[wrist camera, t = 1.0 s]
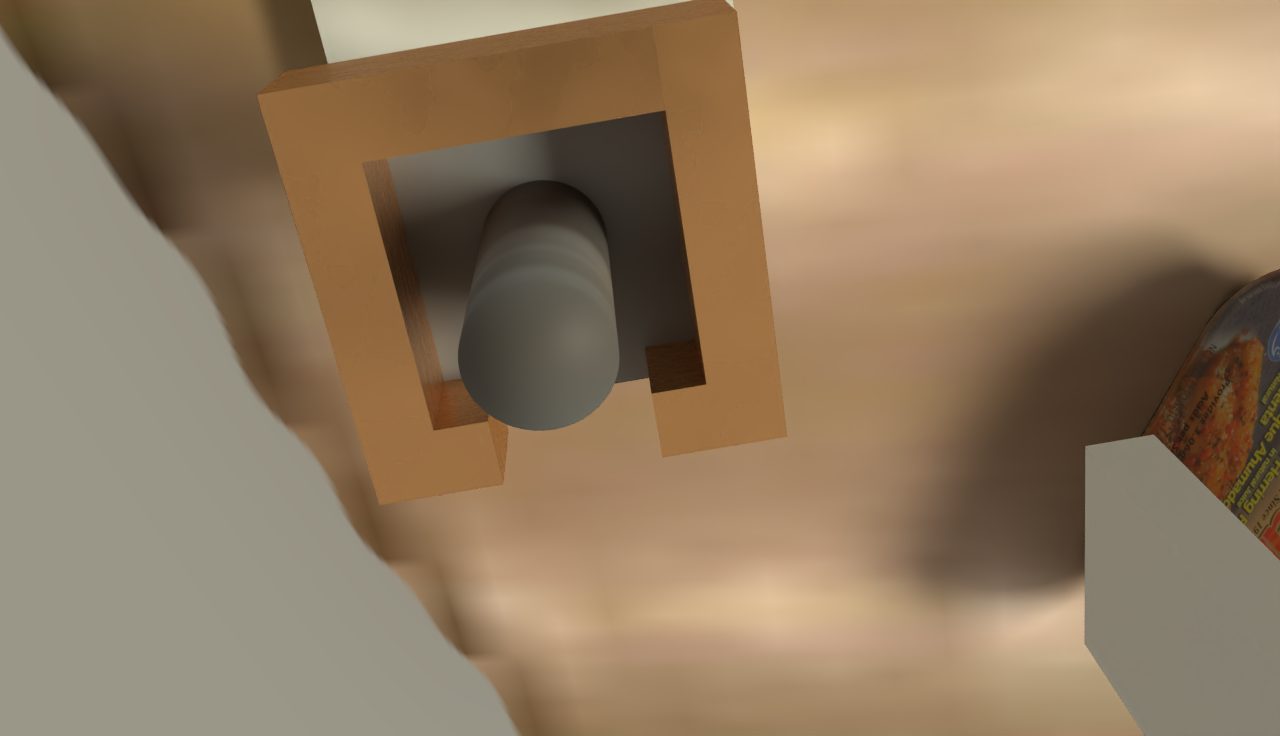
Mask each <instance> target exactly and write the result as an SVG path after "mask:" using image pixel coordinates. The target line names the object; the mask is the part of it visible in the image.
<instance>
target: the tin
mask: <svg viewBox="0 0 1280 736" xmlns="http://www.w3.org/2000/svg"><path fill="white" fill-rule="evenodd" d="M1148 435H1155V436H1156V437H1157V438H1158V439H1159V440H1160V441H1161V442H1162V443H1163V444H1164V445H1165V446H1166V447H1167V448H1168V449H1169V450H1170V451H1171V452H1172V453H1173V454H1174V455H1175V456H1176V457H1177V458H1178V459H1179V460H1180V461H1181V462H1182V463H1183V464H1184V465H1185V466H1186V467H1187V468H1188V469H1189V470H1190V471H1191V472H1192V473H1193V474H1194V475H1195V476H1196V477H1197V478H1198V479H1199V480H1200V481H1201V482H1202V483H1203V484H1204V485H1205V486H1206V487H1207V488H1208V489H1209V490H1210V491H1211V492H1212V493H1213V494H1214V495H1215V496H1216V497H1217V498H1218V499H1219V500H1220V501H1221V502H1222V503H1223V504H1224V505H1225V506H1226V507H1227V508H1228V509H1229V510H1230V511H1231V512H1232V513H1233V514H1234V515H1235V516H1236V517H1237V518H1238V519H1239V520H1240V521H1241V522H1242V523H1243V524H1244V525H1245V526H1246V527H1247V528H1248V529H1249V530H1250V531H1251V532H1252V533H1253V534H1254V535H1255V536H1256V537H1257V538H1258V539H1259V540H1260V541H1261V542H1262V543H1263V544H1264V545H1265V546H1266V547H1267V548H1268V549H1269V550H1270V551H1271V552H1272V553H1273V554H1274V555H1275V556H1276V557H1277V558H1278V559H1279V560H1280V269H1279V270H1276V271H1273V272H1270V273H1268V274H1266V275H1264V276H1262V277H1260V278H1258V279H1256V280H1254V281H1252V282H1251V283H1249V284H1248V285H1246V286H1245V287H1243V288H1242V289H1241V290H1239V291H1238V292H1237V293H1236V294H1235V295H1234V296H1232V297H1231V298H1230V299H1229V300H1228V301H1226V302H1225V303H1224V305H1223V306H1222V307H1221V308H1220V309H1219V310H1218V311H1217V312H1216V313H1215V315H1214V316H1213V317H1212V318H1211V320H1210V321H1209V322H1208V324H1207V325H1206V327H1205V328H1204V330H1203V331H1202V333H1201V335H1200V336H1199V338H1198V339H1197V341H1196V343H1195V345H1194V347H1193V348H1192V350H1191V352H1190V354H1189V355H1188V357H1187V359H1186V361H1185V362H1184V364H1183V366H1182V368H1181V369H1180V371H1179V373H1178V375H1177V376H1176V378H1175V380H1174V382H1173V383H1172V385H1171V387H1170V388H1169V390H1168V392H1167V394H1166V395H1165V397H1164V399H1163V401H1162V402H1161V404H1160V406H1159V408H1158V409H1157V411H1156V413H1155V415H1154V417H1153V418H1152V420H1151V422H1150V423H1149V425H1148V427H1147V428H1146V430H1145V432H1144V434H1143V436H1148Z"/></svg>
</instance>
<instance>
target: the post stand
mask: <svg viewBox="0 0 1280 736" xmlns="http://www.w3.org/2000/svg"><path fill="white" fill-rule="evenodd" d="M686 1H692V0H311V3H312V7H313V10H314V14H315V18H316V21H317V25H318V29H319V33H320V36H321V40H322V44H323V47H324V51H325V55H326V58H327V62H328V64H329V63H335V62H341V61H346V60H352V59H358V58H364V57H369V56H375V55H381V54H387V53H393V52H398V51H404V50H410V49H416V48H421V47H427V46H433V45H439V44H444V43H450V42H456V41H462V40H467V39H473V38H479V37H485V36H490V35H496V34H502V33H508V32H513V31H519V30H525V29H531V28H536V27H542V26H548V25H554V24H559V23H565V22H571V21H577V20H582V19H588V18H594V17H600V16H605V15H611V14H617V13H623V12H628V11H634V10H640V9H646V8H651V7H657V6H663V5H669V4H674V3H680V2H686ZM726 1H727V2H728V3H729V4H730V5H731V6H732V7H733V0H726ZM733 8H734V7H733ZM387 160H388V164H389V168H390V172H391V176H392V179H393V183H394V187H395V191H396V195H397V199H398V203H399V207H400V210H401V214H402V218H403V222H404V226H405V230H406V234H407V238H408V241H409V245H410V249H411V253H412V257H413V261H414V265H415V269H416V273H417V276H418V280H419V284H420V288H421V292H422V296H423V300H424V304H425V307H426V311H427V315H428V319H429V323H430V327H431V331H432V335H433V339H434V342H435V346H436V350H437V354H438V358H439V362H440V366H441V370H442V373H443V377H444V381H450V380H456V379H462V381H463V383H464V386H465V388H466V390H467V391H468V393H469V394H470V396H471V397H472V399H473V400H474V401H475V402H476V403H477V405H478V406H479V407H480V408H482V409H483V410H484V411H485V412H486V413H487V414H489V415H490V416H492V417H493V418H495V419H497V420H499V421H501V422H503V423H505V424H507V425H510V426H513V427H517V428H521V429H526V430H542V431H544V430H553V429H558V428H562V427H566V426H569V425H571V424H574V423H576V422H578V421H580V420H582V419H584V418H585V417H587V416H588V415H590V414H591V413H592V412H593V411H595V410H596V409H597V408H598V407H599V406H600V405H601V404H602V403H603V401H604V400H605V399H606V397H607V396H608V394H609V393H610V391H611V389H612V387H613V385H614V384H615V383H621V382H627V381H633V380H639V379H644V378H649V373H648V366H647V360H646V354H645V347H650V346H656V345H662V344H668V343H674V342H680V341H685V340H691V339H695V338H694V331H693V324H692V318H691V311H690V305H689V298H688V292H687V285H686V278H685V272H684V265H683V259H682V252H681V245H680V239H679V232H678V226H677V219H676V212H675V206H674V199H673V193H672V186H671V179H670V173H669V166H668V160H667V153H666V146H665V140H664V133H663V127H662V120H661V113H660V111H659V112H653V113H647V114H641V115H635V116H630V117H624V118H618V119H612V120H606V121H601V122H595V123H589V124H583V125H578V126H572V127H566V128H560V129H554V130H549V131H543V132H537V133H531V134H525V135H520V136H514V137H508V138H502V139H496V140H491V141H485V142H479V143H473V144H467V145H462V146H456V147H450V148H444V149H438V150H433V151H427V152H421V153H415V154H409V155H404V156H398V157H392V158H387Z"/></svg>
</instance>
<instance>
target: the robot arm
mask: <svg viewBox="0 0 1280 736" xmlns="http://www.w3.org/2000/svg"><path fill="white" fill-rule="evenodd" d="M1085 645H1086V646H1087V648H1088V649H1089V651H1090V652H1091V654H1092V656H1093V657H1094V659H1095V660H1096V662H1097V663H1098V665H1099V666H1100V668H1101V669H1102V671H1103V672H1104V674H1105V675H1106V677H1107V678H1108V680H1109V682H1110V683H1111V685H1112V686H1113V688H1114V689H1115V691H1116V692H1117V694H1118V695H1119V697H1120V698H1121V700H1122V701H1123V703H1124V705H1125V706H1126V708H1127V709H1128V711H1129V712H1130V714H1131V715H1132V717H1133V718H1134V720H1135V721H1136V723H1137V724H1138V726H1139V728H1140V729H1141V731H1142V732H1143V734H1144V735H1145V736H1280V560H1279V559H1278V558H1277V557H1276V556H1275V555H1274V554H1273V553H1272V552H1271V551H1270V550H1269V549H1268V548H1267V547H1266V546H1265V545H1264V544H1263V543H1262V542H1261V541H1260V540H1259V539H1258V538H1257V537H1256V536H1255V535H1254V534H1253V533H1252V532H1251V531H1250V530H1249V529H1248V528H1247V527H1246V526H1245V525H1244V524H1243V523H1242V522H1241V521H1240V520H1239V519H1238V518H1237V517H1236V516H1235V515H1234V514H1233V513H1232V512H1231V511H1230V510H1229V509H1228V508H1227V507H1226V506H1225V505H1224V504H1223V503H1222V502H1221V501H1220V500H1219V499H1218V498H1217V497H1216V496H1215V495H1214V494H1213V493H1212V492H1211V491H1210V490H1209V489H1208V488H1207V487H1206V486H1205V485H1204V484H1203V483H1202V482H1201V481H1200V480H1199V479H1198V478H1197V477H1196V476H1195V475H1194V474H1193V473H1192V472H1191V471H1190V470H1189V469H1188V468H1187V467H1186V466H1185V465H1184V464H1183V463H1182V462H1181V461H1180V460H1179V459H1178V458H1177V457H1176V456H1175V455H1174V454H1173V453H1172V452H1171V451H1170V450H1169V449H1168V448H1167V447H1166V446H1165V445H1164V444H1163V443H1162V442H1161V441H1160V440H1159V439H1158V438H1157V437H1156V436H1155V435H1148V436H1142V437H1136V438H1130V439H1125V440H1119V441H1113V442H1107V443H1101V444H1095V445H1089V446H1085Z"/></svg>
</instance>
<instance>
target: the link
mask: <svg viewBox="0 0 1280 736" xmlns="http://www.w3.org/2000/svg"><path fill="white" fill-rule="evenodd" d="M257 98H258V101H259V105H260V108H261V111H262V115H263V118H264V121H265V125H266V128H267V131H268V135H269V138H270V141H271V145H272V148H273V151H274V155H275V158H276V161H277V165H278V168H279V171H280V175H281V178H282V181H283V185H284V188H285V191H286V195H287V198H288V201H289V205H290V208H291V211H292V215H293V218H294V221H295V225H296V228H297V231H298V235H299V238H300V241H301V245H302V248H303V251H304V255H305V258H306V261H307V265H308V268H309V271H310V275H311V278H312V281H313V285H314V288H315V291H316V295H317V298H318V301H319V305H320V308H321V311H322V315H323V318H324V321H325V325H326V328H327V331H328V335H329V338H330V341H331V345H332V348H333V351H334V355H335V358H336V361H337V365H338V368H339V371H340V375H341V378H342V381H343V385H344V388H345V391H346V395H347V398H348V401H349V405H350V408H351V411H352V415H353V418H354V421H355V425H356V428H357V431H358V435H359V438H360V441H361V445H362V448H363V451H364V455H365V458H366V461H367V465H368V468H369V471H370V475H371V478H372V481H373V485H374V488H375V491H376V495H377V498H378V501H379V505H384V504H389V503H395V502H401V501H407V500H413V499H419V498H425V497H431V496H437V495H443V494H449V493H455V492H461V491H467V490H473V489H478V488H484V487H490V486H496V485H502V484H503V482H504V472H505V461H506V451H507V441H508V428H507V424H505V423H503V422H501V421H499V420H497V419H495V418H493V417H492V416H490V415H489V414H487V413H486V412H485V411H484V410H483V409H482V408H480V407H479V406H478V405H477V403H476V402H475V401H474V400H473V399H472V397H471V396H470V394H469V393H468V391H467V390H466V388H465V386H464V383H463V381H462V379H456V380H450V381H444V377H443V373H442V370H441V366H440V362H439V358H438V354H437V350H436V346H435V342H434V339H433V335H432V331H431V327H430V323H429V319H428V315H427V311H426V307H425V304H424V300H423V296H422V292H421V288H420V284H419V280H418V276H417V273H416V269H415V265H414V261H413V257H412V253H411V249H410V245H409V241H408V238H407V234H406V230H405V226H404V222H403V218H402V214H401V210H400V207H399V203H398V199H397V195H396V191H395V187H394V183H393V179H392V176H391V172H390V168H389V164H388V160H387V158H392V157H398V156H404V155H409V154H415V153H421V152H427V151H433V150H438V149H444V148H450V147H456V146H462V145H467V144H473V143H479V142H485V141H491V140H496V139H502V138H508V137H514V136H520V135H525V134H531V133H537V132H543V131H549V130H554V129H560V128H566V127H572V126H578V125H583V124H589V123H595V122H601V121H606V120H612V119H618V118H624V117H630V116H635V115H641V114H647V113H653V112H659V111H660V113H661V120H662V127H663V133H664V140H665V146H666V153H667V160H668V166H669V173H670V179H671V186H672V193H673V199H674V206H675V212H676V219H677V226H678V232H679V239H680V245H681V252H682V259H683V265H684V272H685V278H686V285H687V292H688V298H689V305H690V311H691V318H692V324H693V331H694V338H695V339H691V340H685V341H680V342H674V343H668V344H662V345H656V346H650V347H645V354H646V360H647V366H648V373H649V379H650V386H651V392H652V398H653V404H654V410H655V415H656V421H657V427H658V433H659V439H660V444H661V450H662V456H663V457H668V456H674V455H680V454H686V453H692V452H698V451H704V450H710V449H716V448H722V447H728V446H734V445H740V444H745V443H751V442H757V441H763V440H769V439H775V438H781V437H787V431H786V422H785V414H784V405H783V397H782V388H781V380H780V372H779V363H778V355H777V346H776V338H775V329H774V321H773V313H772V304H771V296H770V287H769V279H768V270H767V262H766V254H765V245H764V237H763V228H762V220H761V212H760V203H759V195H758V186H757V178H756V169H755V161H754V153H753V144H752V136H751V127H750V119H749V110H748V102H747V94H746V85H745V77H744V68H743V60H742V51H741V43H740V35H739V26H738V18H737V12H736V10H735V9H734V8H733V7H732V6H731V5H730V4H729V3H728V2H727V1H726V0H692V1H686V2H680V3H674V4H669V5H663V6H657V7H651V8H646V9H640V10H634V11H628V12H623V13H617V14H611V15H605V16H600V17H594V18H588V19H582V20H577V21H571V22H565V23H559V24H554V25H548V26H542V27H536V28H531V29H525V30H519V31H513V32H508V33H502V34H496V35H490V36H485V37H479V38H473V39H467V40H462V41H456V42H450V43H444V44H439V45H433V46H427V47H421V48H416V49H410V50H404V51H398V52H393V53H387V54H381V55H375V56H369V57H364V58H358V59H352V60H346V61H341V62H335V63H329V64H323V65H318V66H312V67H306V68H300V69H295V70H289V71H285V72H284V73H283V74H282V75H280V76H279V77H278V78H277V79H276V80H274V81H273V82H272V83H271V84H270V85H268V86H267V87H266V88H265V89H264V90H262V91H261V92H260V93H259V94H257Z"/></svg>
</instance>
